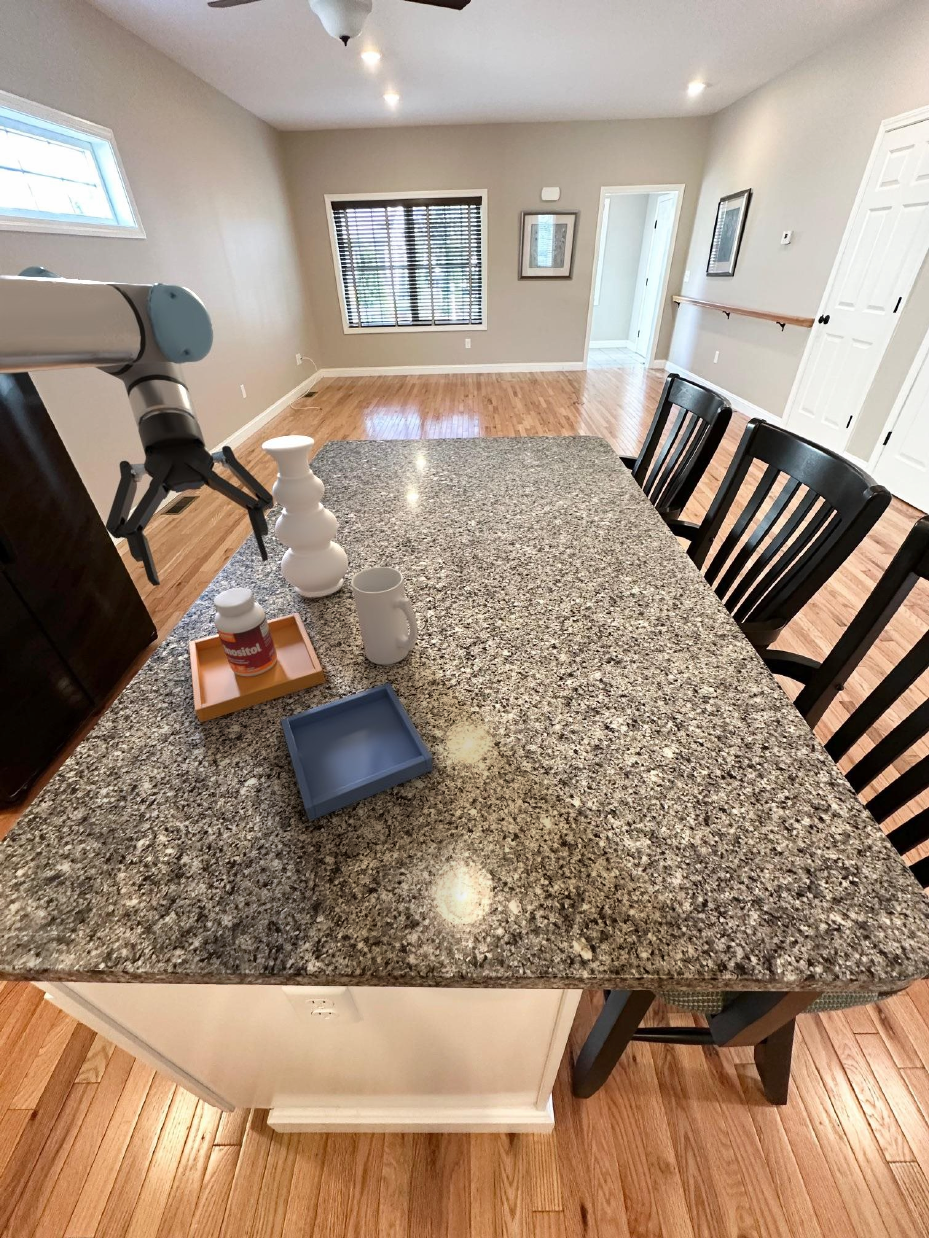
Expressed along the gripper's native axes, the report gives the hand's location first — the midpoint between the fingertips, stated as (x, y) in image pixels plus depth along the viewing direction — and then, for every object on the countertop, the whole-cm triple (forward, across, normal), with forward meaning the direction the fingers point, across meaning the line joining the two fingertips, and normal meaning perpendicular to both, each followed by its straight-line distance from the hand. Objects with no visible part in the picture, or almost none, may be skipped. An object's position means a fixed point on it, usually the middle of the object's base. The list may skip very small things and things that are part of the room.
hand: (211, 569), depth 67 cm
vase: (+1, -15, -18) cm, 23 cm away
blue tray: (+28, -10, +9) cm, 31 cm away
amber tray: (+13, -2, -6) cm, 15 cm away
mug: (+18, -20, -1) cm, 27 cm away
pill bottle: (+13, -2, -5) cm, 14 cm away
